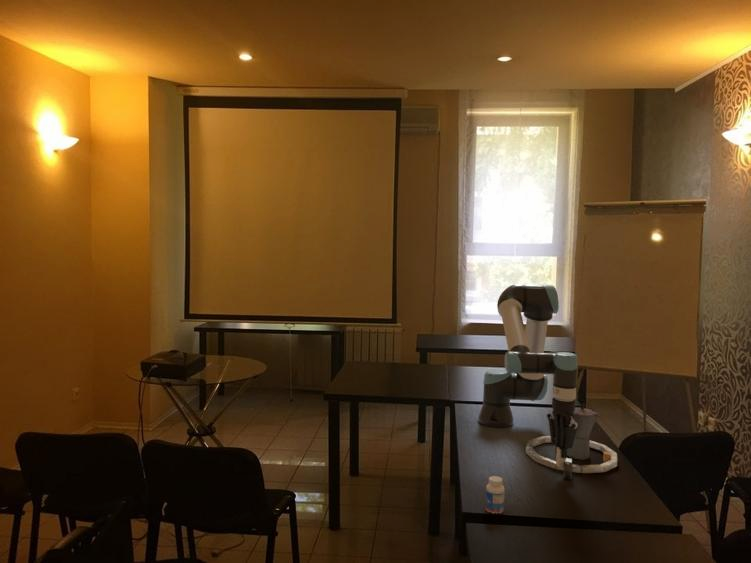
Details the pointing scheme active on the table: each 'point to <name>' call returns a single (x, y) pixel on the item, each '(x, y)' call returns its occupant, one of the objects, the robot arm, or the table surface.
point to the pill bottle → (495, 495)
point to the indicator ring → (568, 464)
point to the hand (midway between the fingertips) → (560, 465)
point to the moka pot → (582, 432)
